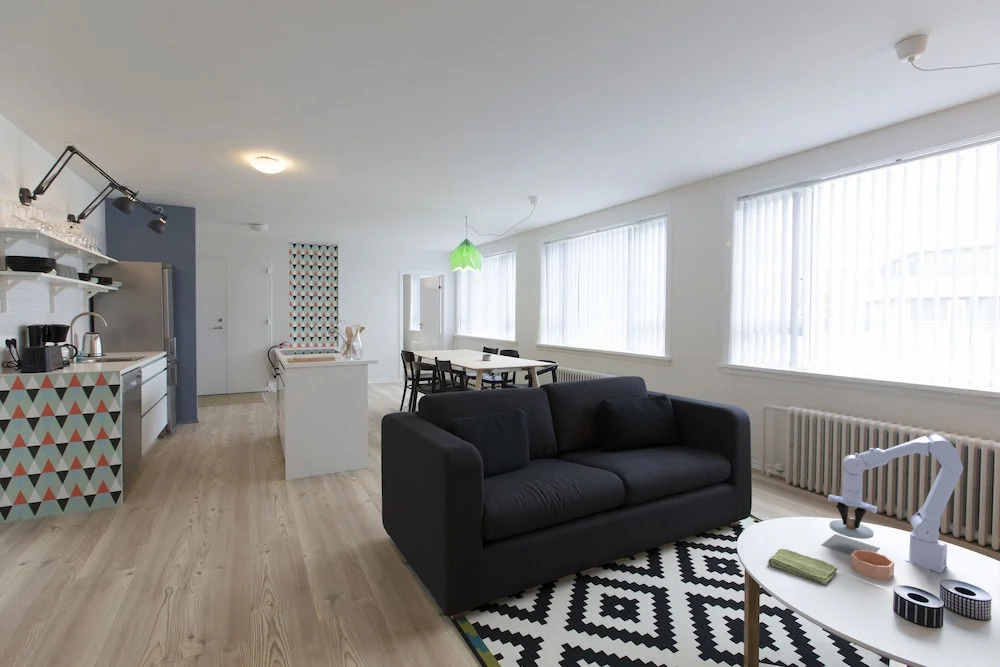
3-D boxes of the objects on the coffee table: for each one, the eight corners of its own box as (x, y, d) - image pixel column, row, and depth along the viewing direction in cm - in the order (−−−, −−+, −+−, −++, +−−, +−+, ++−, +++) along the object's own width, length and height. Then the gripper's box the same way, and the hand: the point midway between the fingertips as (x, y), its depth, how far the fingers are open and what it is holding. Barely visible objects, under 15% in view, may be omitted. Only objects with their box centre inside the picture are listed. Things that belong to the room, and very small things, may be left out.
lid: (878, 531, 176) (878, 519, 176) (866, 542, 168) (867, 529, 168) (836, 519, 187) (837, 507, 186) (823, 528, 179) (824, 517, 178)
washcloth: (827, 588, 153) (827, 578, 153) (766, 566, 166) (766, 557, 166) (837, 572, 162) (838, 563, 162) (779, 553, 175) (779, 544, 175)
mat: (879, 549, 177) (879, 548, 177) (866, 561, 168) (866, 560, 168) (835, 534, 188) (835, 533, 188) (820, 546, 179) (821, 545, 179)
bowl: (896, 572, 161) (897, 559, 161) (886, 584, 155) (887, 570, 154) (858, 559, 170) (858, 547, 169) (847, 569, 163) (847, 556, 163)
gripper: (825, 485, 180) (824, 521, 181) (873, 498, 169) (871, 536, 169) (832, 481, 184) (831, 516, 185) (879, 493, 173) (878, 530, 174)
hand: (851, 525), depth 177 cm, fingers closed on lid, 3 cm apart
